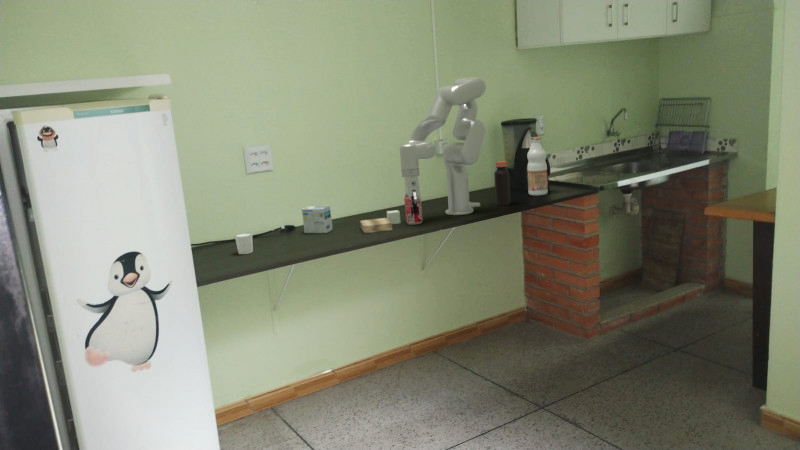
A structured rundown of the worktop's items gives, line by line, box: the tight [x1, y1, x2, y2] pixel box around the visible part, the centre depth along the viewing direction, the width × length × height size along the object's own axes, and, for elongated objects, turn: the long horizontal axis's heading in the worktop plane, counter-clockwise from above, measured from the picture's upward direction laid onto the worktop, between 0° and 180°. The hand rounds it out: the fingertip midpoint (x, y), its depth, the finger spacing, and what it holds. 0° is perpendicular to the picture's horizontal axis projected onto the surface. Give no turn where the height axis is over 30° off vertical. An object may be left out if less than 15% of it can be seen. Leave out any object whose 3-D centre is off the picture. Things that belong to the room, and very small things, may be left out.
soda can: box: [403, 193, 424, 226], centre depth 294 cm, size 7×7×13 cm
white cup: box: [234, 232, 254, 255], centre depth 268 cm, size 7×7×7 cm
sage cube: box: [386, 209, 402, 225], centre depth 299 cm, size 5×5×5 cm
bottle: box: [494, 160, 511, 207], centre depth 318 cm, size 7×7×20 cm
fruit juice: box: [526, 136, 549, 196], centre depth 335 cm, size 9×9×28 cm
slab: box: [359, 217, 393, 234], centre depth 291 cm, size 12×12×3 cm
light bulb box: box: [301, 205, 333, 234], centre depth 294 cm, size 11×7×11 cm, turn 71°
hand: (413, 213), depth 295 cm, fingers closed on soda can, 6 cm apart
